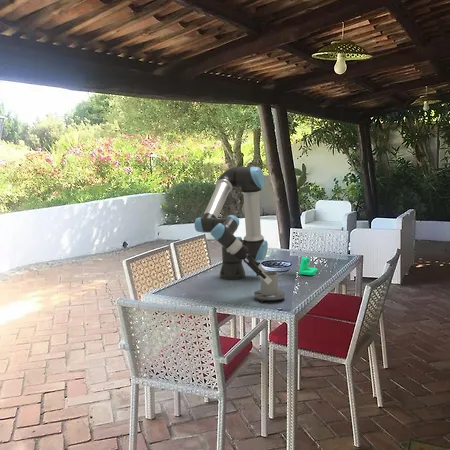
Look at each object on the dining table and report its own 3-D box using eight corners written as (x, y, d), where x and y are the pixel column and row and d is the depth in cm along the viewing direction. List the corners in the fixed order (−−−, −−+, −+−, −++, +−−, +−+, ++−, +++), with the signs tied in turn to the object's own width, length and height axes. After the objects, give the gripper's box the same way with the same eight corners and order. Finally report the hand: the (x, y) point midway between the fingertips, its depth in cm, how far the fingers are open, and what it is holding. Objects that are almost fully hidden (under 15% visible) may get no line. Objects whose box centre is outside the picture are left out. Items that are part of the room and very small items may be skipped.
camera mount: (311, 277, 286) (311, 259, 285) (299, 275, 290) (299, 258, 289) (318, 272, 297) (318, 255, 295) (306, 271, 301) (306, 254, 299)
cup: (264, 296, 238) (264, 276, 237) (258, 291, 246) (258, 272, 245) (280, 294, 240) (280, 274, 239) (274, 290, 248) (274, 270, 247)
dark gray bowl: (251, 302, 238) (251, 296, 238) (257, 294, 253) (257, 288, 252) (282, 304, 234) (282, 298, 234) (286, 295, 249) (286, 289, 248)
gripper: (231, 250, 252) (260, 277, 255) (233, 260, 227) (265, 291, 230) (241, 239, 251) (271, 267, 254) (244, 248, 227) (277, 279, 229)
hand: (268, 278), depth 242 cm, fingers open, 13 cm apart
